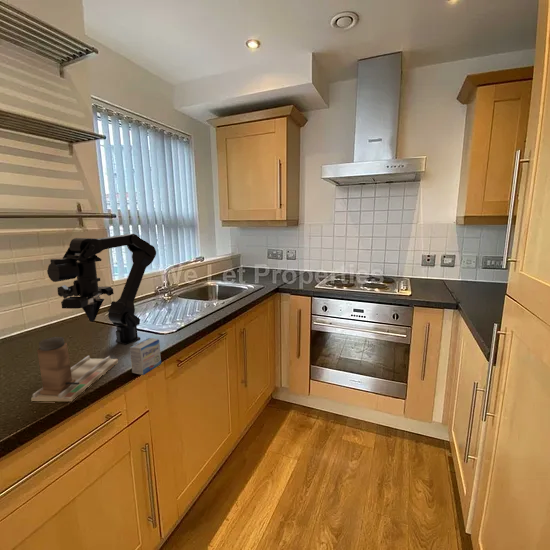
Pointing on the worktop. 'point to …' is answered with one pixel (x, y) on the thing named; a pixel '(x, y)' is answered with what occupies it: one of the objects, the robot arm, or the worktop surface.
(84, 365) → the scale board
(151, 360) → the medicine box
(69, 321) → the worktop surface
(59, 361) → the post
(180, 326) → the worktop surface
